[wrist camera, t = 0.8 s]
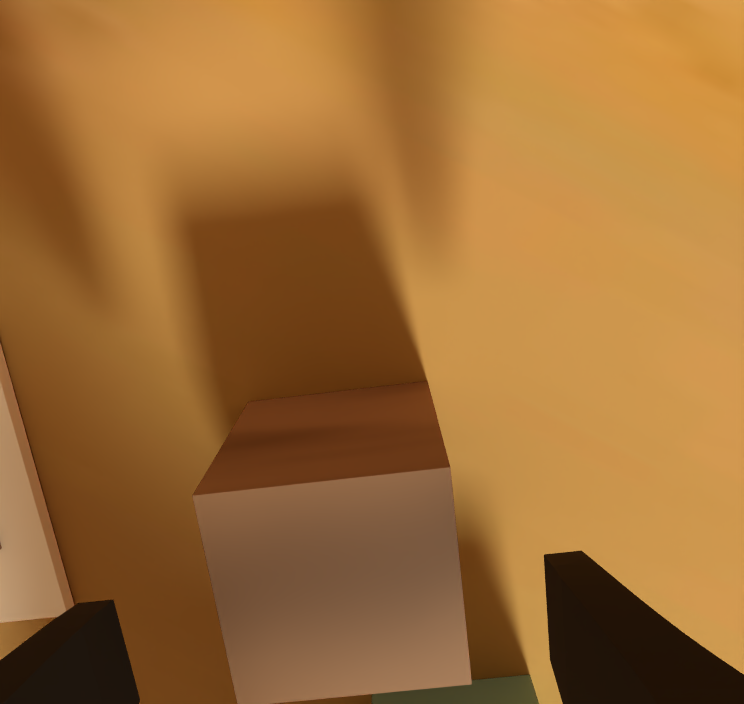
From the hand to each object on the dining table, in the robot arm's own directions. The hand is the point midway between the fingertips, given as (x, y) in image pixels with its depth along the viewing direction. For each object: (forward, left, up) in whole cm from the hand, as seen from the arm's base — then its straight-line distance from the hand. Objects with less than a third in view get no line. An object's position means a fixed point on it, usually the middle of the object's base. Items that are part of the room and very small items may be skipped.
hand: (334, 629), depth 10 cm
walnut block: (0, 0, -6) cm, 6 cm away
